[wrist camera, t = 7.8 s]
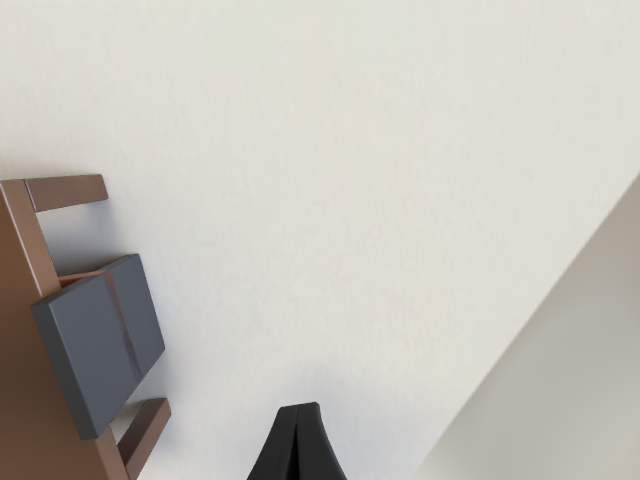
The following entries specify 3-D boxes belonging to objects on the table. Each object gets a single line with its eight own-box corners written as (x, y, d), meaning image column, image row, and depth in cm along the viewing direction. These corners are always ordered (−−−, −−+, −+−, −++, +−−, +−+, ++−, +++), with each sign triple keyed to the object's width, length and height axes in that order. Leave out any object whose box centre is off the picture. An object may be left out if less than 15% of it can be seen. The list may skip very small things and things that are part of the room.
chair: (166, 348, 18) (98, 439, 12) (58, 364, 18) (-63, 462, 12) (139, 253, 16) (48, 302, 11) (22, 269, 16) (-133, 328, 11)
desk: (171, 414, 19) (120, 511, 14) (18, 436, 19) (-93, 543, 14) (101, 174, 16) (-2, 180, 10) (-86, 199, 15) (-288, 218, 10)
